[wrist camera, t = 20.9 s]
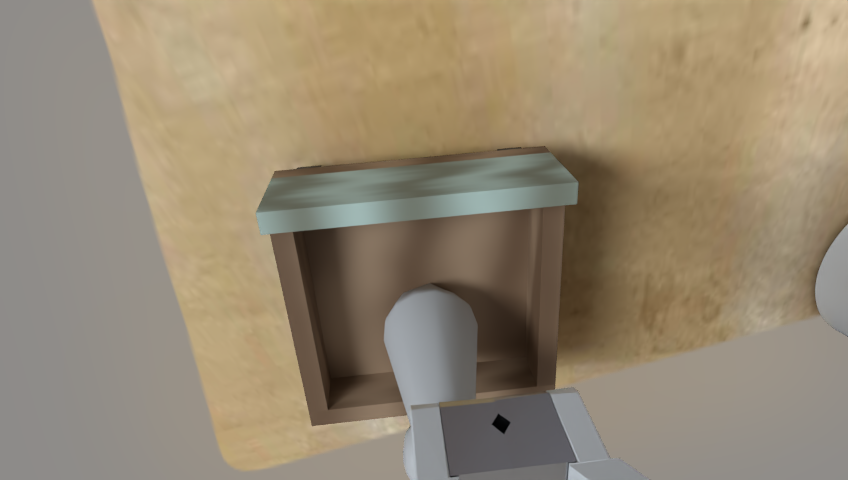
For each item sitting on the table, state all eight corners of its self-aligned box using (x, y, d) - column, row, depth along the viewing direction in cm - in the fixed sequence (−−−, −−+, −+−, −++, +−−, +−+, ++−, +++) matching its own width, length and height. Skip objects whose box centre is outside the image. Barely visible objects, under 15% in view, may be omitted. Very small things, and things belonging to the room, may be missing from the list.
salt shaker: (411, 257, 34) (432, 409, 22) (487, 293, 36) (543, 452, 24) (367, 326, 36) (365, 498, 24) (441, 357, 38) (472, 531, 26)
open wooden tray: (531, 132, 35) (578, 181, 27) (526, 333, 43) (562, 418, 35) (282, 155, 35) (255, 212, 27) (321, 355, 42) (309, 447, 34)
